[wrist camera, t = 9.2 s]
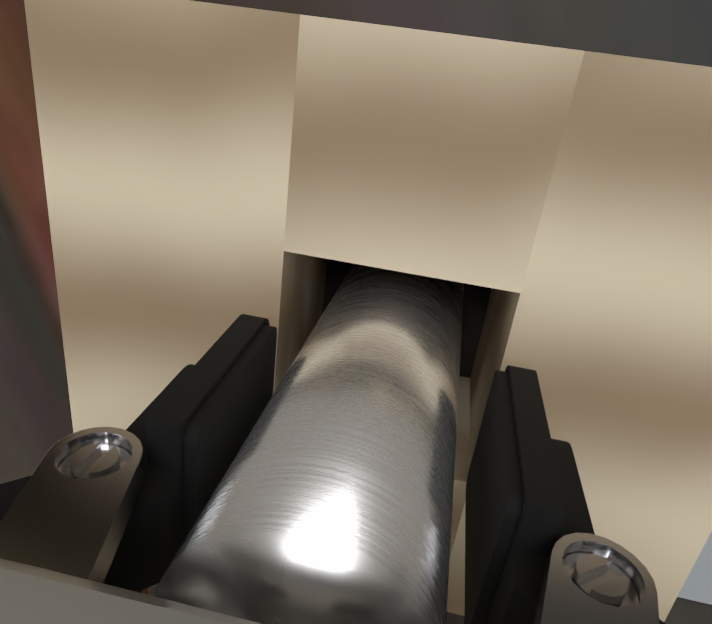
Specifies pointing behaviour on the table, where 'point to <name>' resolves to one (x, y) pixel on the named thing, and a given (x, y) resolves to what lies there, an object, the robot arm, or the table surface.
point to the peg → (342, 471)
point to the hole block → (393, 224)
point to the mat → (700, 577)
